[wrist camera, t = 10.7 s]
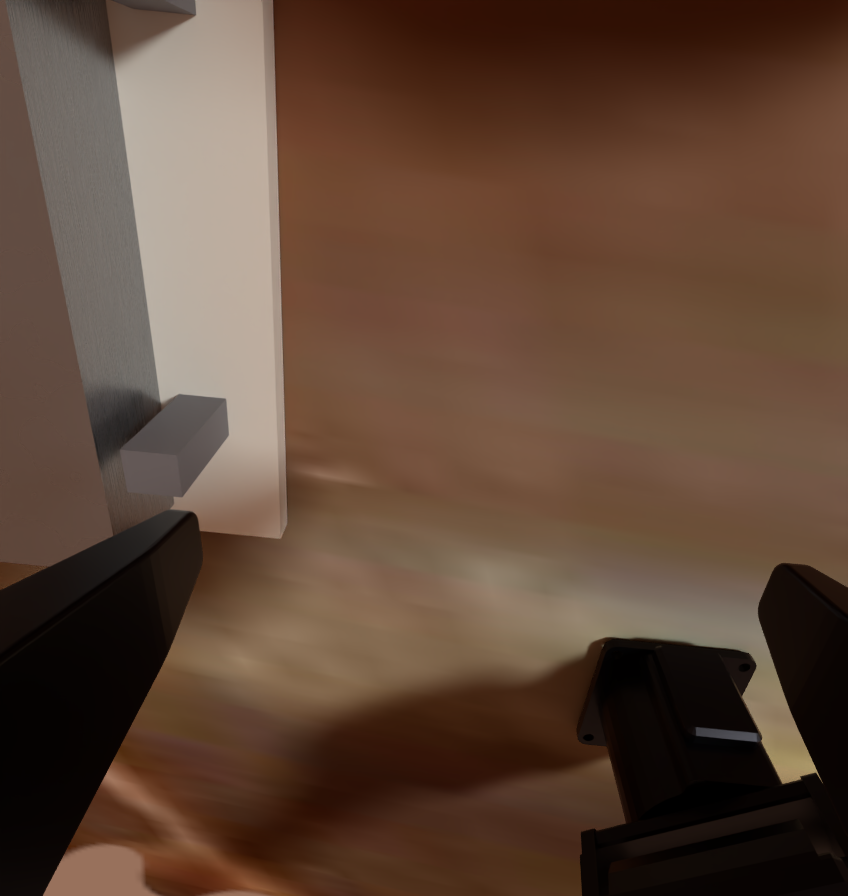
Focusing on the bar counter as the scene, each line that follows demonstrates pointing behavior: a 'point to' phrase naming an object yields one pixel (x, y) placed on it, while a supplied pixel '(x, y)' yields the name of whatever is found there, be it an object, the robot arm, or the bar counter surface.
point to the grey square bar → (67, 289)
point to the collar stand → (207, 255)
